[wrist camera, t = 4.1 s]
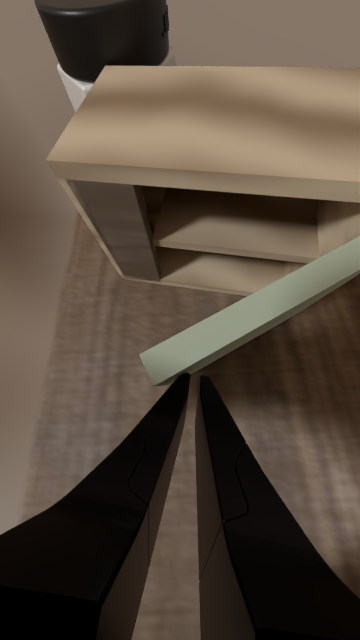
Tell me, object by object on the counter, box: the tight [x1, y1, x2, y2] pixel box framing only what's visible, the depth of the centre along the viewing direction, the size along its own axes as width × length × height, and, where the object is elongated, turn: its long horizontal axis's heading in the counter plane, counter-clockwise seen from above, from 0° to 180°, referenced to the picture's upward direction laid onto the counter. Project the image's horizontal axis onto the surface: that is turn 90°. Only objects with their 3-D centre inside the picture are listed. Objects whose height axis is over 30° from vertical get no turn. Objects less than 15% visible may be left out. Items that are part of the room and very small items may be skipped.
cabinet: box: [46, 66, 360, 296], centre depth 14 cm, size 9×16×10 cm, turn 80°
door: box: [139, 236, 360, 386], centre depth 11 cm, size 1×12×9 cm, turn 118°
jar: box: [35, 0, 176, 112], centre depth 17 cm, size 9×8×12 cm
